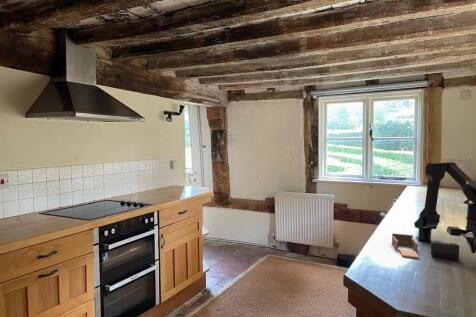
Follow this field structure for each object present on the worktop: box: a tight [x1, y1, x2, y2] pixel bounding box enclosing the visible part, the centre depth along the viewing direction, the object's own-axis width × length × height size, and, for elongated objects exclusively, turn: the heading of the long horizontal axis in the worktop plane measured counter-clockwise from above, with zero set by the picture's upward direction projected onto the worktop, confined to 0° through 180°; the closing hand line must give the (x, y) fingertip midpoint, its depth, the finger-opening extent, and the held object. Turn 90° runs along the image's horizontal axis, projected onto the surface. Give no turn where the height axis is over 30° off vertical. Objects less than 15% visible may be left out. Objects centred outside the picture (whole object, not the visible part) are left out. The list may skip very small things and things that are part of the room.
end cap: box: [430, 240, 460, 262], centre depth 141 cm, size 10×7×7 cm
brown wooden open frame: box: [391, 232, 419, 254], centre depth 153 cm, size 11×9×5 cm
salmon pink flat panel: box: [398, 248, 420, 259], centre depth 144 cm, size 1×7×9 cm
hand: (472, 253), depth 138 cm, fingers closed
